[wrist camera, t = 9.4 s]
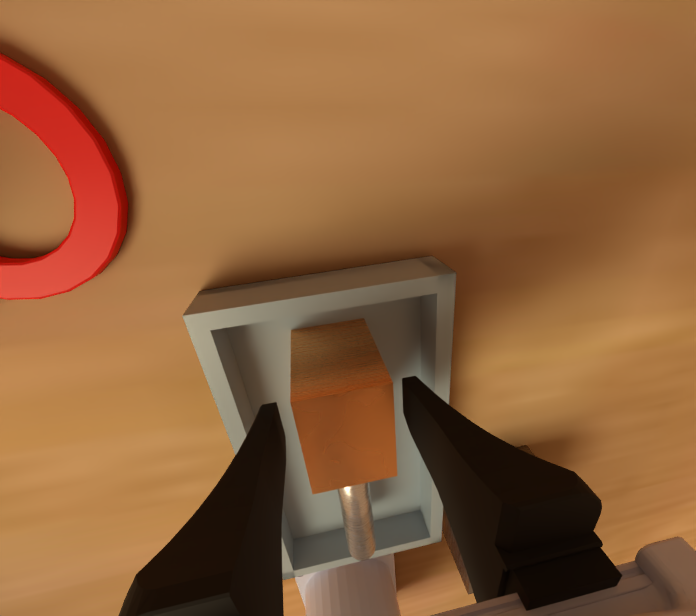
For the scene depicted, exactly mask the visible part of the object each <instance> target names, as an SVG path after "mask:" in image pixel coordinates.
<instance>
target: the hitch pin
mask: <svg viewBox="0 0 696 616" xmlns="http://www.w3.org/2000/svg"><path fill="white" fill-rule="evenodd" d="M290 403H291V408H292V412H293V416H294V420H295V424H296V428H297V432H298V436H299V441H300V445H301V449H302V453H303V457H304V461H305V465H306V469H307V473H308V478H309V482H310V486H311V490H312V494H318V493H322V492H327V491H331V490H336V489H337V491H338V496H339V501H340V507H341V512H342V518H343V523H344V529H345V534H346V539H347V545H348V550H349V552H350V554H351V556H352V557H353V558H355V559H356V560H359V561H364V560H367V559H369V558H370V557H371V556H372V555H373V554H374V552H375V549H376V539H375V530H374V521H373V512H372V503H371V494H370V485H369V482H372V481H377V480H381V479H386V478H390V477H395V476H397V455H396V434H395V412H394V391H393V382H392V379H391V377H390V375H389V373H388V370H387V368H386V366H385V364H384V362H383V359H382V357H381V355H380V353H379V350H378V348H377V346H376V344H375V341H374V339H373V337H372V335H371V333H370V330H369V328H368V326H367V324H366V321H365V319H364V318H361V319H355V320H349V321H343V322H337V323H331V324H325V325H319V326H313V327H307V328H301V329H295V330H291V372H290Z"/></svg>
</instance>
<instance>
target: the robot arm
mask: <svg viewBox="0 0 696 616" xmlns="http://www.w3.org/2000/svg"><path fill="white" fill-rule="evenodd" d="M402 395H403V414H404V417H405V420H406V423H407V426H408V428H409V431H410V434H411V436H412V438H413V440H414V442H415V444H416V447H417V449H418V451H419V453H420V455H421V457H422V459H423V461H424V463H425V465H426V467H427V469H428V471H429V473H430V475H431V477H432V479H433V482H434V484H435V486H436V488H437V491H438V493H439V496H440V499H441V501H442V504H443V507H444V509H445V512H446V515H447V517H448V520H449V523H450V526H451V528H452V531H453V534H454V537H455V539H456V542H457V545H458V548H459V551H460V554H461V557H462V560H463V563H464V565H465V568H466V571H467V574H468V577H469V580H470V583H471V587H472V590H473V593H474V596H475V599H476V602H477V603H476V604H472V605H468V606H465V607H461V608H457V609H453V610H450V611H446V612H442V613H439V614H435V615H431V616H696V551H695V550H694V549H693V548H692V547H691V546H690V545H689V544H688V543H687V542H686V541H685V540H684V539H683V538H682V537H674V538H670V539H666V540H662V541H658V542H655V543H651V544H648V545H646V546H644V547H643V548H641V549H640V550H639V551H638V553H637V555H636V558H635V561H632V562H628V563H624V564H621V565H617V566H615V565H614V564H613V563H612V562H611V560H610V559H609V558H608V557H607V555H606V554H605V553H604V551H603V550H602V549H601V548H600V547H602V545H603V544H602V541H601V540H600V539H599V537H598V536H597V535H596V534H595V532H594V531H593V530H594V528H595V526H596V523H597V521H598V519H599V516H600V514H601V510H602V504H601V500H600V499H599V498H598V497H597V496H596V494H595V493H594V492H593V491H592V490H591V489H590V488H589V486H588V485H587V484H586V483H585V482H584V481H583V480H582V479H581V478H580V477H579V476H578V475H577V474H576V473H575V472H573V471H571V470H568V469H565V468H563V467H560V466H558V465H555V464H552V463H550V462H547V461H545V460H542V459H540V458H538V457H535V456H533V455H531V454H529V453H526V452H524V451H522V450H520V449H518V448H516V447H514V446H512V445H510V444H508V443H506V442H505V441H503V440H501V439H499V438H497V437H495V436H494V435H492V434H490V433H488V432H487V431H485V430H484V429H482V428H480V427H479V426H477V425H476V424H474V423H473V422H471V421H470V420H468V419H467V418H466V417H464V416H463V415H462V414H460V413H459V412H458V411H456V410H455V409H454V408H452V407H451V406H450V405H449V404H447V403H446V402H445V401H444V400H442V399H441V398H440V397H439V396H438V395H437V394H435V393H434V392H433V391H432V390H431V389H430V388H429V387H428V386H426V385H425V384H424V383H423V382H422V381H421V380H420V379H419V378H418V377H416V376H411V377H405V378H402ZM285 471H286V436H285V432H284V428H283V425H282V421H281V417H280V414H279V410H278V406H277V402H274V403H268V404H263V405H261V407H260V408H259V411H258V413H257V415H256V417H255V420H254V422H253V424H252V426H251V428H250V430H249V432H248V434H247V436H246V438H245V439H244V441H243V443H242V445H241V447H240V449H239V450H238V452H237V454H236V455H235V457H234V459H233V460H232V462H231V464H230V465H229V467H228V469H227V470H226V472H225V473H224V475H223V476H222V478H221V479H220V481H219V482H218V484H217V485H216V486H215V488H214V489H213V491H212V492H211V493H210V494H209V496H208V497H207V498H206V500H205V501H204V502H203V504H202V505H201V506H200V507H199V509H198V510H197V511H196V512H195V514H194V515H193V516H192V517H191V518H190V519H189V521H188V522H187V523H186V524H185V525H184V526H183V527H182V528H181V530H180V531H179V532H178V533H177V534H176V535H175V536H174V537H173V539H172V540H171V541H170V542H169V543H168V544H167V545H166V546H165V547H164V548H163V549H162V550H161V551H160V552H159V553H158V554H157V555H156V556H155V557H154V558H153V559H152V560H151V561H150V562H149V563H148V564H147V565H146V566H145V567H144V568H143V569H142V570H140V571H139V572H138V573H137V574H136V576H135V578H134V581H133V583H132V585H131V587H130V589H129V591H128V593H127V596H126V598H125V600H124V603H123V606H122V608H121V611H120V614H119V616H284V615H283V584H282V509H283V497H284V484H285ZM295 580H296V583H297V585H298V588H299V591H300V594H301V597H302V600H303V603H304V605H305V608H306V616H401V614H400V610H399V605H398V601H397V593H396V578H395V563H394V553H392V554H388V555H384V556H379V557H375V558H371V559H367V560H364V561H359V562H355V563H351V564H347V565H343V566H339V567H335V568H331V569H327V570H322V571H318V572H314V573H310V574H306V575H302V576H298V577H295Z"/></svg>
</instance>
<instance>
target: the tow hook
mask: <svg viewBox="0 0 696 616" xmlns="http://www.w3.org/2000/svg"><path fill="white" fill-rule="evenodd" d="M0 109H1V110H3V111H5V112H7V113H8V114H10V115H12V116H13V117H15V118H16V119H17V120H19V121H20V122H21V123H22V124H24V125H25V126H26V127H27V128H29V129H30V130H31V131H33V132H34V133H35V134H36V135H37V136H38V137H39V138H40V139H41V140H42V141H43V143H44V144H45V145H46V146H47V147H48V148H49V149H50V150H51V152H52V153H53V154H54V155H55V156H56V158H57V160H58V162H59V163H60V165H61V167H62V168H63V170H64V172H65V174H66V175H67V177H68V180H69V183H70V187H71V190H72V193H73V197H74V220H73V223H72V226H71V229H70V232H69V235H68V236H67V237H66V238H65V240H64V241H63V242H62V243H61V244H60V246H59V247H58V248H57V249H55V250H54V251H52V252H50V253H48V254H47V255H44V256H40V257H36V258H6V257H1V256H0V298H1V299H8V300H12V299H42V298H46V297H50V296H53V295H57V294H61V293H65V292H69V291H71V290H73V289H75V288H76V287H78V286H80V285H82V284H83V283H85V282H87V281H88V280H90V279H92V278H94V277H95V276H97V275H98V274H100V273H101V272H102V271H103V270H104V269H105V268H106V267H107V265H108V264H109V263H110V262H111V261H112V260H113V259H114V258H115V256H116V255H117V254H118V251H119V249H120V246H121V244H122V241H123V239H124V236H125V234H126V231H127V216H128V201H127V196H126V192H125V188H124V184H123V179H122V175H121V172H120V170H119V168H118V166H117V164H116V162H115V160H114V158H113V156H112V154H111V152H110V150H109V148H108V146H107V144H106V142H105V140H104V139H103V138H102V137H101V135H100V134H99V133H98V132H97V130H96V129H95V128H94V127H93V125H92V124H91V123H90V121H89V120H88V119H87V118H86V116H85V115H84V114H83V113H82V111H81V110H80V109H79V108H78V107H77V106H76V105H75V104H74V103H72V102H71V101H70V100H69V99H68V98H67V97H66V96H64V95H63V94H62V93H61V92H60V91H59V90H57V89H56V88H55V87H54V86H53V85H52V84H50V83H49V82H48V81H47V80H46V79H45V78H43V77H41V76H40V75H38V74H36V73H34V72H33V71H31V70H29V69H28V68H26V67H24V66H22V65H21V64H19V63H17V62H16V61H14V60H12V59H11V58H9V57H7V56H5V55H4V54H1V53H0Z"/></svg>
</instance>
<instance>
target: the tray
mask: <svg viewBox="0 0 696 616" xmlns="http://www.w3.org/2000/svg"><path fill="white" fill-rule="evenodd" d="M455 288H456V272H455V271H453V270H452V269H450V268H449V267H448V266H446V265H445V264H443V263H442V262H440V261H439V260H438V259H436V258H435V257H433V256H428V257H421V258H415V259H408V260H401V261H395V262H388V263H382V264H375V265H368V266H362V267H355V268H349V269H342V270H335V271H329V272H322V273H315V274H309V275H302V276H296V277H289V278H282V279H276V280H269V281H263V282H256V283H249V284H243V285H236V286H230V287H223V288H216V289H210V290H203V291H199V293H198V294H197V295H196V297H195V298H194V300H193V301H192V303H191V304H190V306H189V307H188V309H187V310H186V311H185V313H184V314H183V319H184V322H185V324H186V327H187V329H188V332H189V335H190V337H191V340H192V342H193V345H194V348H195V350H196V353H197V355H198V358H199V361H200V363H201V366H202V368H203V371H204V374H205V376H206V379H207V382H208V384H209V387H210V389H211V392H212V395H213V397H214V400H215V402H216V405H217V408H218V410H219V413H220V415H221V418H222V421H223V423H224V426H225V428H226V431H227V434H228V436H229V439H230V442H231V444H232V447H233V449H234V452H235V455H236V454H237V452H238V450H239V449H240V447H241V445H242V443H243V441H244V439H245V438H246V436H247V434H248V432H249V430H250V428H251V426H252V424H253V422H254V420H255V417H256V415H257V413H258V411H259V408H260V407H261V405H263V404H268V403H274V402H277V406H278V410H279V414H280V417H281V421H282V425H283V428H284V432H285V436H286V471H285V484H284V497H283V509H282V577H283V580H286V579H290V578H294V577H298V576H302V575H306V574H310V573H314V572H318V571H322V570H327V569H331V568H335V567H339V566H343V565H347V564H351V563H355V562H359V560H356V559H355V558H353V557H352V556H351V554H350V552H349V550H348V545H347V539H346V534H345V529H344V523H343V518H342V512H341V507H340V501H339V496H338V491H337V489H336V490H331V491H327V492H322V493H318V494H312V490H311V486H310V482H309V478H308V473H307V469H306V465H305V461H304V457H303V453H302V449H301V445H300V441H299V436H298V432H297V428H296V424H295V420H294V416H293V412H292V408H291V403H290V372H291V330H295V329H301V328H307V327H313V326H319V325H325V324H331V323H337V322H343V321H349V320H355V319H361V318H364V319H365V321H366V324H367V326H368V328H369V330H370V333H371V335H372V337H373V339H374V341H375V344H376V346H377V348H378V350H379V353H380V355H381V357H382V359H383V362H384V364H385V366H386V368H387V370H388V373H389V375H390V377H391V379H392V382H393V391H394V412H395V434H396V455H397V476H395V477H390V478H386V479H381V480H377V481H372V482H369V485H370V494H371V503H372V512H373V521H374V530H375V539H376V549H375V552H374V554H373V555H372V556H371V557H370V558H369V559H371V558H375V557H379V556H384V555H388V554H392V553H396V552H400V551H404V550H408V549H412V548H416V547H420V546H424V545H428V544H432V543H437V542H441V537H442V519H443V504H442V501H441V499H440V496H439V493H438V491H437V488H436V486H435V484H434V482H433V479H432V477H431V475H430V473H429V471H428V469H427V467H426V465H425V463H424V461H423V459H422V457H421V455H420V453H419V451H418V449H417V447H416V444H415V442H414V440H413V438H412V436H411V434H410V431H409V428H408V426H407V423H406V420H405V417H404V414H403V395H402V378H405V377H411V376H416V377H418V378H419V379H420V380H421V381H422V382H423V383H424V384H425V385H426V386H428V387H429V388H430V389H431V390H432V391H433V392H434V393H435V394H437V395H438V396H439V397H440V398H441V399H442V400H444V401H445V402H446V403H447V404H449V395H450V377H451V359H452V341H453V324H454V306H455Z"/></svg>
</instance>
